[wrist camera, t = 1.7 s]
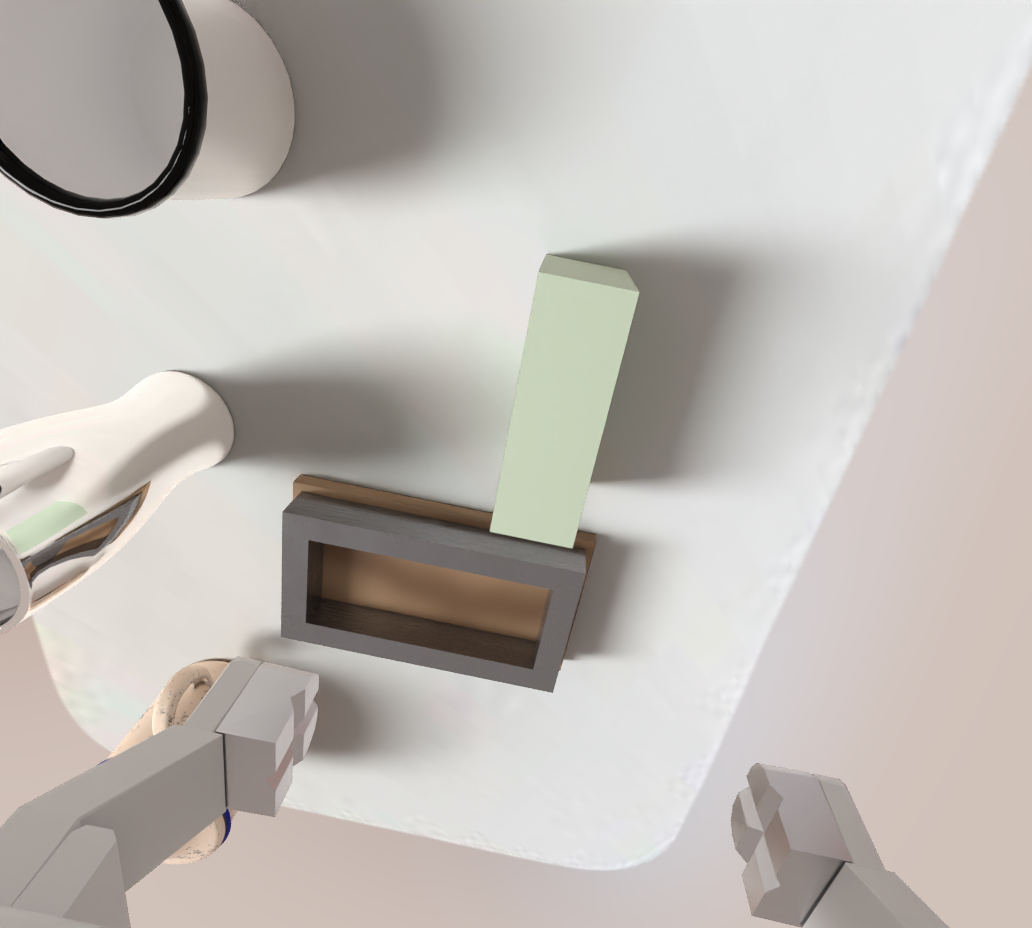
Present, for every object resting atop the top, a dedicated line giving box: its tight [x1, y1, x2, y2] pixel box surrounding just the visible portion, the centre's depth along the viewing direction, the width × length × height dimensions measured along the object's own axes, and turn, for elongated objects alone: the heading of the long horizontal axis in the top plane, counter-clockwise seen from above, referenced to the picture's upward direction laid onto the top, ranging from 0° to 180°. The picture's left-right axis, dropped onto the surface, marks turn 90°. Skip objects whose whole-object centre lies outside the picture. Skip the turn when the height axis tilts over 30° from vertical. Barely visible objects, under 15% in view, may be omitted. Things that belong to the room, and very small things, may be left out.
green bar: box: [490, 254, 640, 549], centre depth 29 cm, size 12×4×7 cm, turn 170°
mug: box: [0, 0, 295, 219], centre depth 24 cm, size 12×10×9 cm
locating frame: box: [281, 475, 596, 693], centre depth 36 cm, size 10×18×4 cm, turn 80°
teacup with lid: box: [98, 661, 237, 864], centre depth 39 cm, size 12×9×12 cm
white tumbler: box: [0, 371, 234, 635], centre depth 28 cm, size 7×7×15 cm
